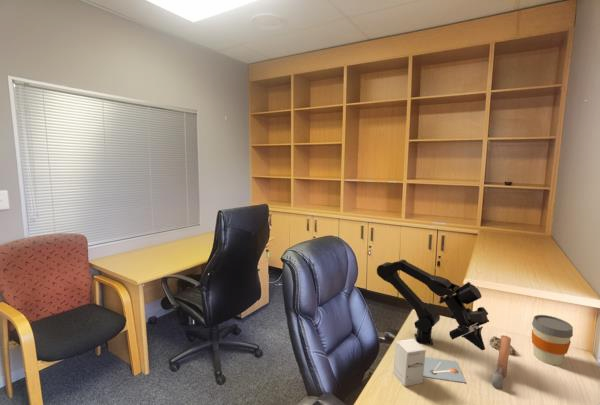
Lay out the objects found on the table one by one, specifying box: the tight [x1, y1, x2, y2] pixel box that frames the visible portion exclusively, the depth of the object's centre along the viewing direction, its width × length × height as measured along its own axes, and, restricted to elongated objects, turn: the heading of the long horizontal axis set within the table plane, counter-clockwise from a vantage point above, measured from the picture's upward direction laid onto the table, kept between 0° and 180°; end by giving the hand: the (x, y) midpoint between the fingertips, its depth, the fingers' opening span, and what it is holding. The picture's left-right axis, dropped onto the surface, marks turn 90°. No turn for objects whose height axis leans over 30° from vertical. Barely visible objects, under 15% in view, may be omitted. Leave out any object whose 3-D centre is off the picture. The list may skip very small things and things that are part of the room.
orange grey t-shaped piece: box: [491, 335, 512, 390], centre depth 113 cm, size 11×3×14 cm, turn 139°
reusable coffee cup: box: [531, 314, 574, 366], centre depth 127 cm, size 13×13×15 cm
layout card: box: [423, 356, 467, 384], centre depth 119 cm, size 12×14×1 cm
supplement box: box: [392, 338, 426, 387], centre depth 113 cm, size 7×7×13 cm
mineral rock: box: [489, 335, 516, 356], centre depth 134 cm, size 11×4×8 cm
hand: (483, 349), depth 120 cm, fingers closed
